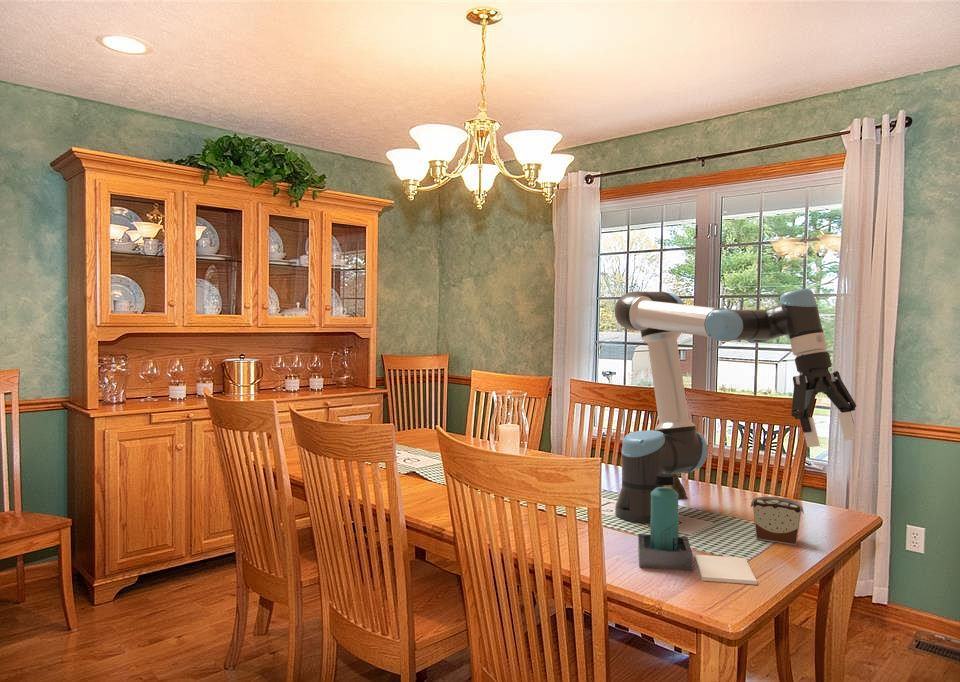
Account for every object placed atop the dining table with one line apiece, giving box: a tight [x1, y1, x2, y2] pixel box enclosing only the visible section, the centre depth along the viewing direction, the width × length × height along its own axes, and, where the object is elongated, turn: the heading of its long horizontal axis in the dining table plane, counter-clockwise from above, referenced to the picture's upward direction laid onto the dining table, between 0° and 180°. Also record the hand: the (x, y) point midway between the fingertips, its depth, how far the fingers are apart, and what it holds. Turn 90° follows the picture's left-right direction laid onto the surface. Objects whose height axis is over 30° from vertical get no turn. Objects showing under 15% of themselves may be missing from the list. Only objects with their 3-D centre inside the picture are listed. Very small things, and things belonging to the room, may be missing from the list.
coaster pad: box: [694, 554, 758, 585], centre depth 152 cm, size 14×11×1 cm
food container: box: [750, 496, 805, 546], centre depth 174 cm, size 12×6×10 cm, turn 59°
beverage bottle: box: [649, 473, 680, 550], centre depth 158 cm, size 6×7×20 cm
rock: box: [664, 474, 688, 499], centre depth 217 cm, size 11×9×10 cm
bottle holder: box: [637, 533, 693, 572], centre depth 159 cm, size 11×11×4 cm
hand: (832, 443), depth 159 cm, fingers open, 13 cm apart
